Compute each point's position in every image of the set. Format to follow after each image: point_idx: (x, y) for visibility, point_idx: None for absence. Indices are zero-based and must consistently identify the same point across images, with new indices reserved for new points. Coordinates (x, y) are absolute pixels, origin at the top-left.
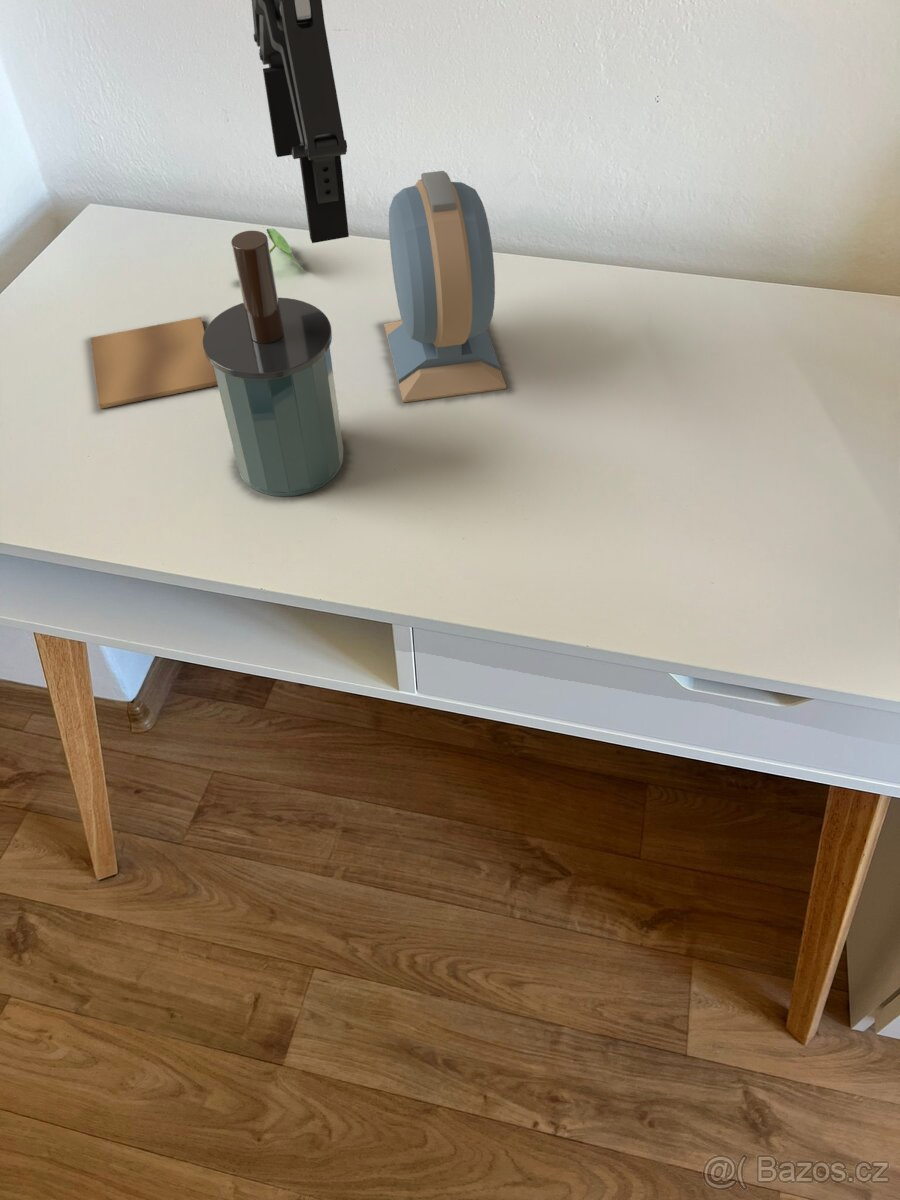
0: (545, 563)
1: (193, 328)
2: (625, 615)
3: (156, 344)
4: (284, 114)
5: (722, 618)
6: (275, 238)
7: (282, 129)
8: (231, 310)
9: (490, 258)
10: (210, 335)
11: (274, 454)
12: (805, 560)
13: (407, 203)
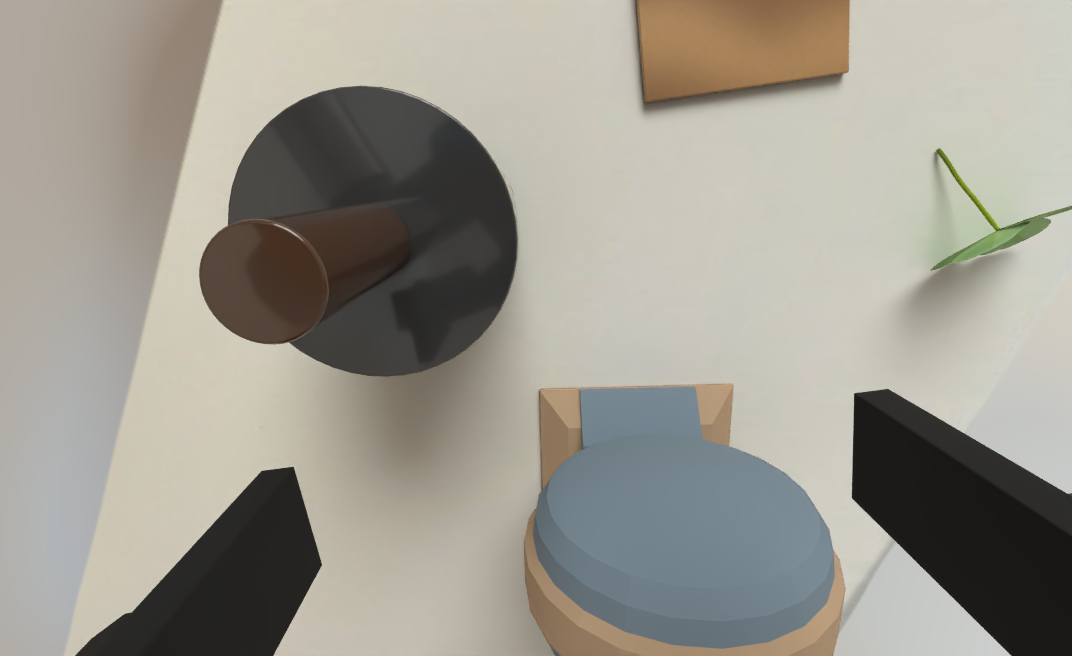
0: (215, 508)
1: (815, 57)
2: (136, 569)
3: None
4: (961, 523)
5: None
6: (1000, 235)
7: (917, 472)
8: (479, 160)
9: None
10: (383, 106)
11: None
12: None
13: (705, 613)
